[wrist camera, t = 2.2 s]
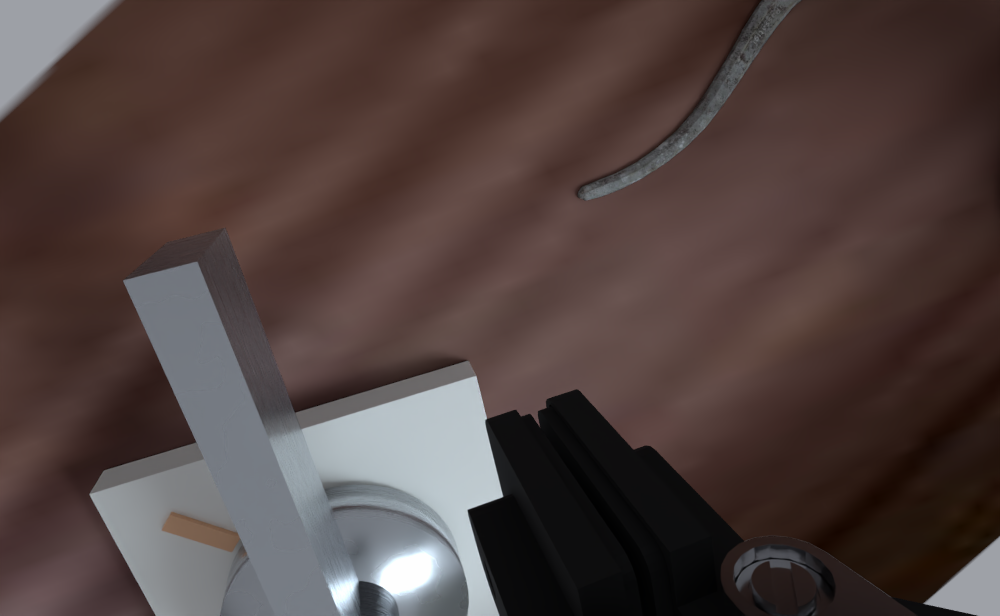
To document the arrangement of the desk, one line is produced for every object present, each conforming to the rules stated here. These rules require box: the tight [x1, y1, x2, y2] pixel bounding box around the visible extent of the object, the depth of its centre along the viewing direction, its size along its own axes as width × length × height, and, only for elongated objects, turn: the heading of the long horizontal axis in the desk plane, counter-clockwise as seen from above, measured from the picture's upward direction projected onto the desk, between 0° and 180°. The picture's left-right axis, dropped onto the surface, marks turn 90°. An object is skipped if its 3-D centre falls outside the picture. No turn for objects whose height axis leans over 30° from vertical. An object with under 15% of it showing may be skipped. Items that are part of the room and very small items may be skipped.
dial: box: [123, 228, 469, 616], centre depth 20 cm, size 20×9×6 cm, turn 12°
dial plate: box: [89, 361, 503, 616], centre depth 26 cm, size 14×14×2 cm
